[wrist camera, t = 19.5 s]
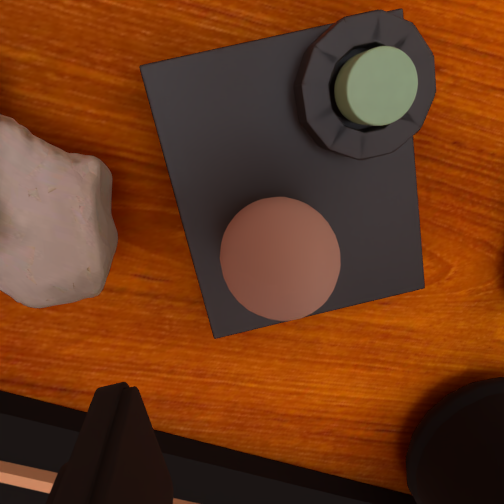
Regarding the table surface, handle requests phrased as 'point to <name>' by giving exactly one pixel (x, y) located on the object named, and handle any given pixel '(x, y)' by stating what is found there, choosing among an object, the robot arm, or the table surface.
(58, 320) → the table surface
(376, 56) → the button
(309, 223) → the egg
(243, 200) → the grey push button base
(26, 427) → the sushi set
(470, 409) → the container
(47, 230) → the ceramic sculpture
